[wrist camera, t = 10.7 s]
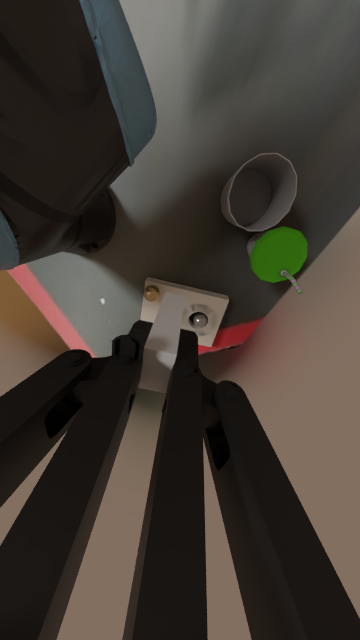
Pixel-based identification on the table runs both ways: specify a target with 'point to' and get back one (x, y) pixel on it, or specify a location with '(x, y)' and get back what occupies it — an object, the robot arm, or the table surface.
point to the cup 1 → (259, 192)
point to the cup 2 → (277, 254)
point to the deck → (189, 308)
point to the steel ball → (199, 320)
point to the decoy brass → (152, 293)
